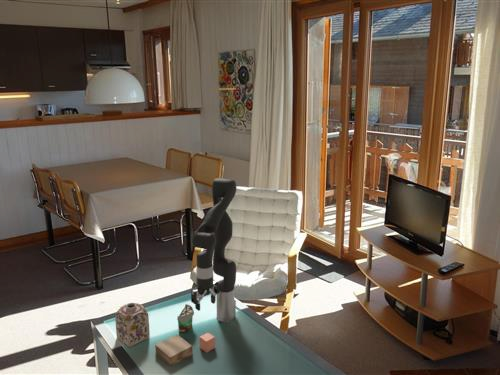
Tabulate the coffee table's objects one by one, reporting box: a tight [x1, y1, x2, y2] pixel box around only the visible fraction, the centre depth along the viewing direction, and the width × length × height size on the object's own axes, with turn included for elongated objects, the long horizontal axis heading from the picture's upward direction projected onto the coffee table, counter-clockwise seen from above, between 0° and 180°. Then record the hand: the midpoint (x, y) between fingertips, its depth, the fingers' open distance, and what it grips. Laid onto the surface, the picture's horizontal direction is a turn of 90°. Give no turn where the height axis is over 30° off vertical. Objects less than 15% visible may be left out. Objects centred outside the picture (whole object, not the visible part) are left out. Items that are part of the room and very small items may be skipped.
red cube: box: [199, 332, 216, 353], centre depth 209 cm, size 5×5×6 cm
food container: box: [176, 303, 195, 334], centre depth 224 cm, size 12×6×10 cm, turn 168°
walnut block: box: [154, 334, 193, 367], centre depth 205 cm, size 12×12×5 cm
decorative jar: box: [114, 302, 151, 348], centre depth 214 cm, size 12×12×18 cm
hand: (205, 306), depth 204 cm, fingers open, 8 cm apart
